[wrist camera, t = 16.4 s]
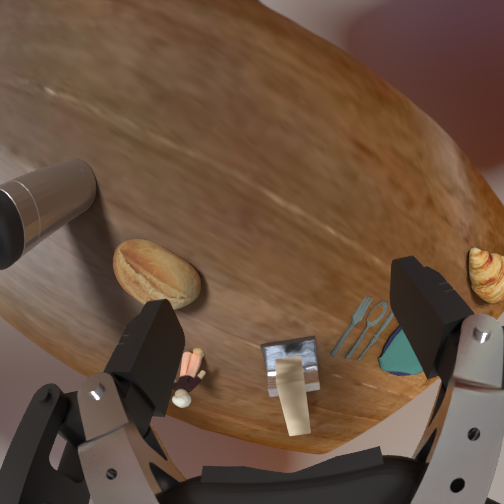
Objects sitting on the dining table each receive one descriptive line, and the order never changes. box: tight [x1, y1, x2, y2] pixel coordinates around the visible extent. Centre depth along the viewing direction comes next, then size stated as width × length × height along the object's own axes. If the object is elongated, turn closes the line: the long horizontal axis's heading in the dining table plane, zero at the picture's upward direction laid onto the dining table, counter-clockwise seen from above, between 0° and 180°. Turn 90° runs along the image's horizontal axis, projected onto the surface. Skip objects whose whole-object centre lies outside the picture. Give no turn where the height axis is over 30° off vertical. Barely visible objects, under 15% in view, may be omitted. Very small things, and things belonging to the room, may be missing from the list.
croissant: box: [469, 248, 504, 303], centre depth 41 cm, size 21×10×8 cm, turn 59°
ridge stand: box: [261, 336, 320, 397], centre depth 49 cm, size 10×10×8 cm
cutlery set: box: [330, 296, 423, 376], centre depth 49 cm, size 20×30×2 cm, turn 71°
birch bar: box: [275, 356, 311, 436], centre depth 43 cm, size 4×18×5 cm, turn 12°
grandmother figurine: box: [172, 348, 206, 408], centre depth 47 cm, size 8×4×13 cm, turn 130°
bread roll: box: [113, 239, 201, 310], centre depth 40 cm, size 10×15×8 cm, turn 60°
